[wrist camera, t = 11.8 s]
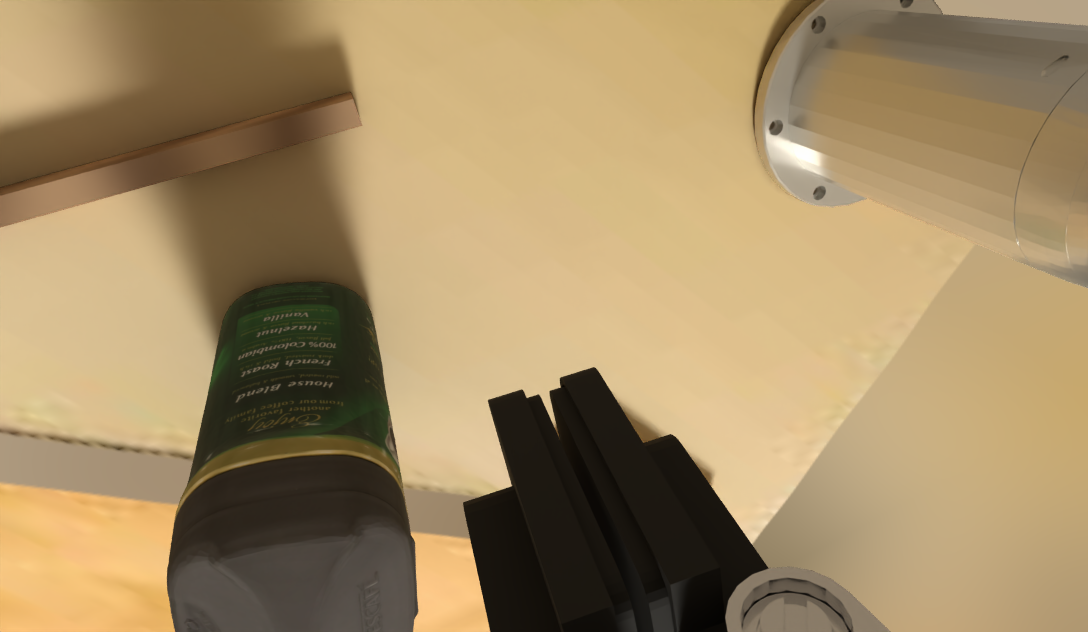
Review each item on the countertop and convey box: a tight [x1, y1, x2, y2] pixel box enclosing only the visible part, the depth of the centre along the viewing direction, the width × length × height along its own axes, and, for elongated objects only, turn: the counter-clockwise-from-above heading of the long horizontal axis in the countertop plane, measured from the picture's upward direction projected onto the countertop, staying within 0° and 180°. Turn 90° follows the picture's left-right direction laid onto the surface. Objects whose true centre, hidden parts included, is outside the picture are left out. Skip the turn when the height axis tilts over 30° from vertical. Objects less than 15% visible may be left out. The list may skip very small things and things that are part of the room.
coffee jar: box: [167, 282, 418, 632], centre depth 30 cm, size 10×8×19 cm
